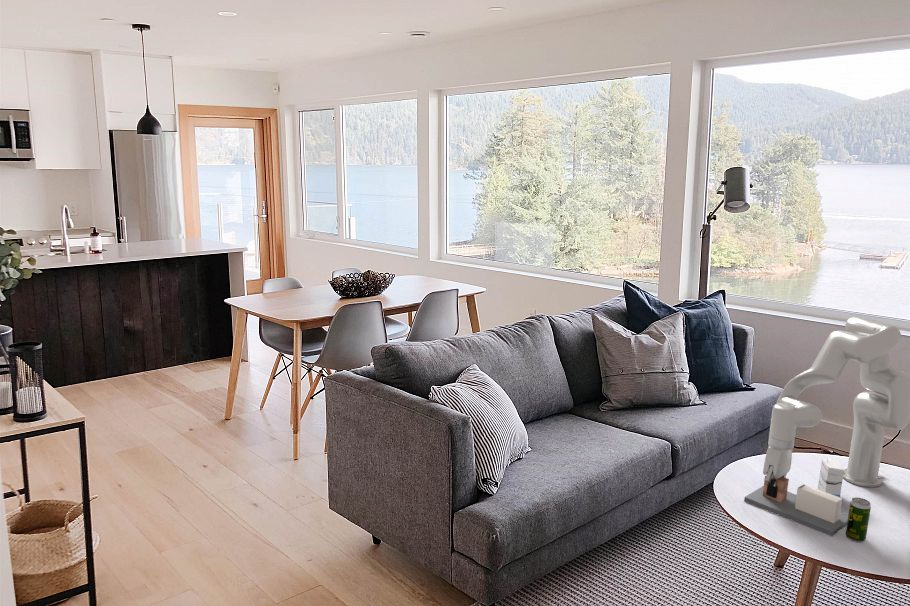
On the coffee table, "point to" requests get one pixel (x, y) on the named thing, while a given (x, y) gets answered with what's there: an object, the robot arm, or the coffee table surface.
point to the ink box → (830, 477)
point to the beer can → (858, 520)
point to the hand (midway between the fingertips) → (774, 493)
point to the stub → (781, 489)
